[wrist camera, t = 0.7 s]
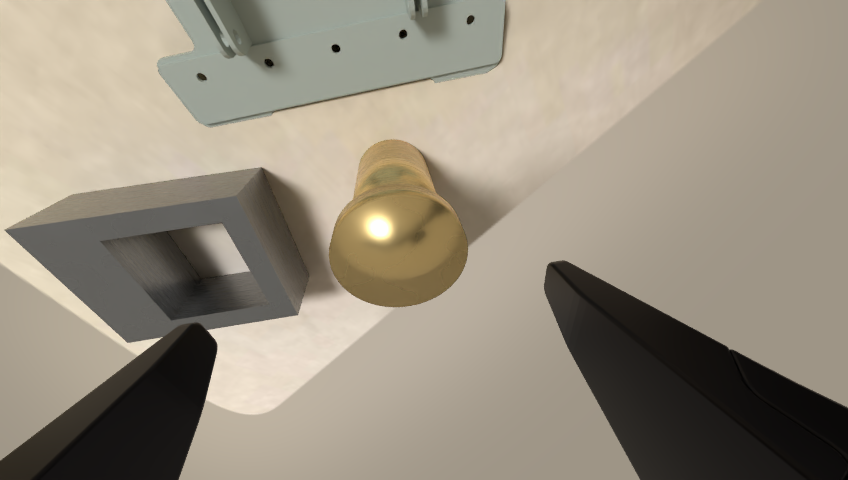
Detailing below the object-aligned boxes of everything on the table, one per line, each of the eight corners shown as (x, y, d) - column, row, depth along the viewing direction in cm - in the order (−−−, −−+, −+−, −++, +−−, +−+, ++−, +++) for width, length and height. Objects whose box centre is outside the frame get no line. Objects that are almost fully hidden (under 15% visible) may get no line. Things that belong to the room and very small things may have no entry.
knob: (432, 123, 16) (466, 186, 10) (439, 205, 19) (469, 296, 12) (339, 137, 16) (309, 209, 9) (360, 217, 19) (348, 315, 12)
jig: (261, 167, 16) (236, 195, 13) (309, 276, 21) (297, 315, 18) (71, 194, 16) (4, 229, 13) (162, 299, 21) (127, 342, 18)
